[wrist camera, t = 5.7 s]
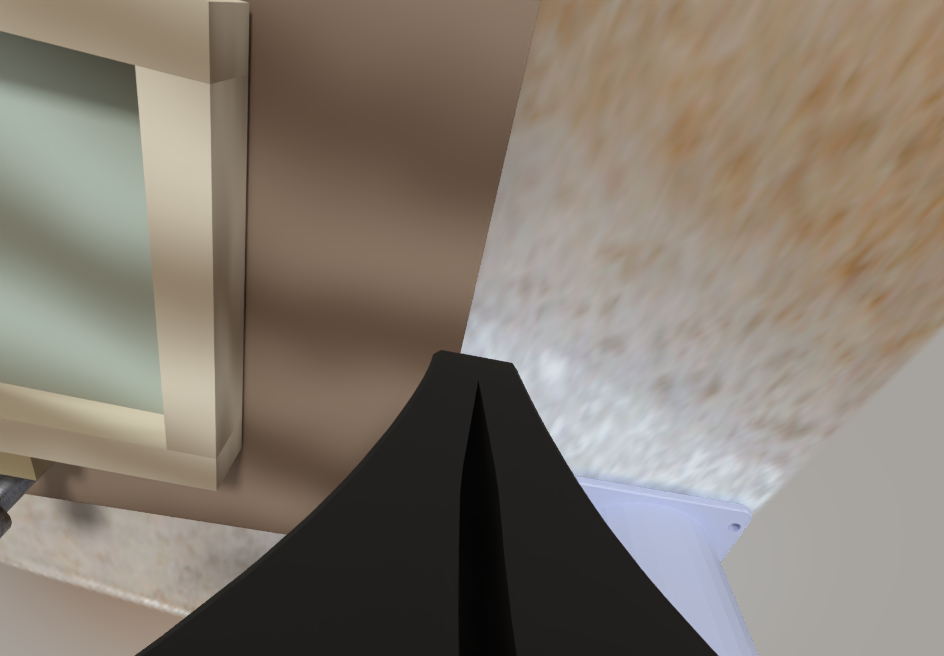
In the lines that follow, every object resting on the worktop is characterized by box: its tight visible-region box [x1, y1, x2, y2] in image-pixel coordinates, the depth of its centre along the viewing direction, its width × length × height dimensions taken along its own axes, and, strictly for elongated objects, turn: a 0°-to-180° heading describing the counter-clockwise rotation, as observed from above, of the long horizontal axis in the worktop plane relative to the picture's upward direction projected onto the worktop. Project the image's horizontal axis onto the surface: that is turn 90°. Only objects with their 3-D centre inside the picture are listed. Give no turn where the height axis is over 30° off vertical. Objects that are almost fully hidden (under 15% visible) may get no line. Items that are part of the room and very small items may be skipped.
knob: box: [0, 461, 55, 538], centre depth 18 cm, size 2×2×5 cm
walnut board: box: [25, 0, 541, 534], centre depth 16 cm, size 23×24×1 cm
